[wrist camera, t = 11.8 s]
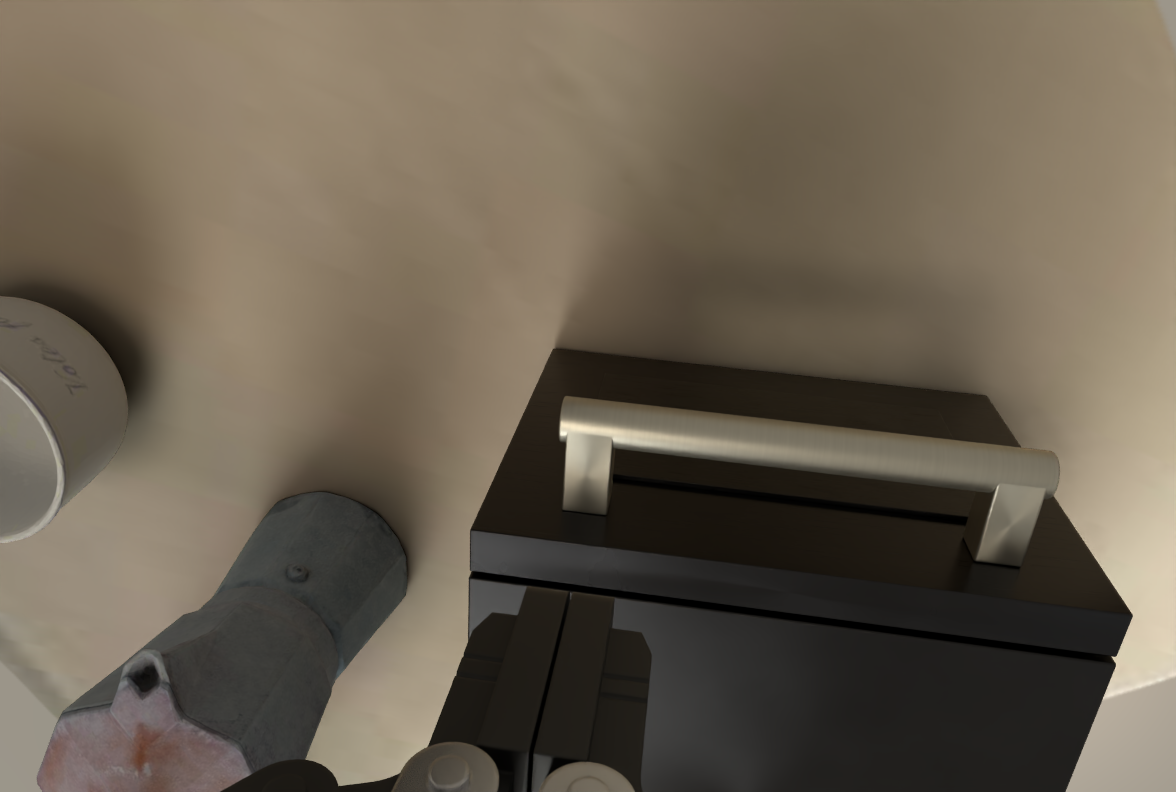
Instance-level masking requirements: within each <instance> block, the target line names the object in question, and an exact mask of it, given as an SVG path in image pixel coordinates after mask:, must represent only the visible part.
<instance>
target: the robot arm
mask: <svg viewBox="0 0 1176 792" xmlns="http://www.w3.org/2000/svg"><path fill="white" fill-rule="evenodd" d="M614 603H615V597H608V596H600V595H593V594H585V593H578V592H573V593H572V596H571V599H570V592H569V591H561V590H554V589H547V588H539V587H532V586H528V587H527V588H526V591H525V594H524V597H523V600H522V603H521V606H520V609H519V612H518V615H511V614H504V613H496V612H492V613H491V614H490V615H489V616H488V617H487V618H485V619H484V620H483V621H482V622H481V623H480V624H479V625H478V626H477V627H476V628H475V629H474V630H473V631H472V633H471V636H470V639H469V641H468V644H467V646H466V649H465V652H464V657H462V659H461V662H460V665H459V667H458V670H457V675H456V676H455V678H454V680H453V683H452V686H451V688H450V691H449V693H448V696H447V699H446V701H445V704H444V706H443V709H442V712H441V714H440V717H439V719H438V722H437V725H436V727H435V730H434V732H433V735H432V738H431V740H430V743H429V745H428V747H427V748H424V749H423V750H421V751H419V752H418V753H416V754H415V755H414V756H413V757H411V758H410V760H409V761H408V762H407V763H406V764H405V766H404V767H403V769H402V771H401V773H399V774H397V775H395V776H393V777H390V778H387V779H384V780H380V781H375V782H368V783H361V784H353V785H345V786H338V783H337V781H336V778H335V777H334V775H333V774H332V772H330V771H329V770H328V769H327V768H326V767H324V766H323V765H321V764H319V763H316V762H314V761H309V760H301V759H293V760H285V761H280V762H277V763H274V764H271V765H268V766H266V767H264V768H262V769H260V770H258V771H256V772H255V773H253V774H251V775H249V776H247V777H245V778H244V779H242V780H240V781H238V782H236V783H235V784H233V785H231V786H229V787H227V788H226V789H224V790H222V791H220V792H643V791H642V787H641V767H642V756H643V746H644V736H645V725H646V715H647V704H648V694H649V683H650V673H651V663H652V654H651V651H650V649H649V647H648V645H647V643H646V640H645V638H644V636H643V634H642V632H636V631H629V630H621V629H614V628H612V625H613V615H614Z"/></svg>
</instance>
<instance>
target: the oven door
mask: <svg viewBox="0 0 1176 792" xmlns="http://www.w3.org/2000/svg"><path fill="white" fill-rule="evenodd" d="M1059 475H1060V467H1059V461H1058V458H1057V456H1056V454H1055V453H1054V452H1052V451H1046V450H1037V449H1029V448H1021V446H1020V445H1019V443H1018V442H1017V440H1016V439H1015V437H1014V436H1013V434H1012V433H1011V431H1010V430H1009V428H1008V427H1007V425H1006V424H1005V422H1004V421H1003V419H1002V418H1001V416H1000V415H999V413H998V412H997V410H996V409H995V407H994V406H993V404H992V403H991V401H990V400H989V398H988V397H987V396H984V395H975V394H966V393H957V392H948V391H938V390H929V389H920V388H911V387H902V386H892V385H883V384H874V383H865V382H856V381H846V380H837V379H828V378H819V377H810V376H800V375H791V374H782V373H773V372H764V371H755V370H745V369H736V368H727V367H718V366H709V365H699V364H690V363H681V362H672V361H663V360H653V359H644V358H635V357H626V356H617V355H607V354H598V353H589V352H580V351H571V350H561V349H553V350H552V352H551V354H550V356H549V359H548V361H547V363H546V365H545V367H544V370H543V372H542V374H541V376H540V378H539V380H538V383H537V385H536V387H535V389H534V391H533V394H532V396H531V398H530V400H529V402H528V405H527V407H526V409H525V411H524V413H523V416H522V418H521V420H520V422H519V424H518V427H517V429H516V431H515V433H514V435H513V438H512V440H511V442H510V444H509V446H508V449H507V451H506V453H505V455H504V457H503V460H502V462H501V464H500V466H499V468H498V471H497V473H496V475H495V477H494V479H493V482H492V484H491V486H490V488H489V490H488V492H487V495H486V497H485V499H484V501H483V503H482V506H481V508H480V510H479V512H478V514H477V517H476V519H475V521H474V523H473V525H472V528H471V530H470V571H476V572H483V573H491V574H498V575H506V576H513V577H521V578H528V579H536V580H543V581H551V582H558V583H566V584H573V585H581V586H588V587H596V588H603V589H611V590H618V591H626V592H633V593H641V594H648V595H656V596H663V597H671V598H678V599H686V600H693V601H701V602H708V603H716V604H723V605H731V606H738V607H746V608H753V609H761V610H768V611H776V612H783V613H791V614H798V615H806V616H813V617H821V618H828V619H836V620H843V621H851V622H858V623H866V624H873V625H881V626H888V627H896V628H903V629H911V630H918V631H926V632H933V633H941V634H948V635H956V636H963V637H971V638H978V639H986V640H993V641H1001V642H1008V643H1016V644H1023V645H1031V646H1038V647H1046V648H1053V649H1061V650H1068V651H1076V652H1083V653H1091V654H1098V655H1106V656H1113V657H1116V656H1117V654H1118V651H1119V649H1120V646H1121V644H1122V641H1123V639H1124V637H1125V634H1126V632H1127V629H1128V627H1129V624H1130V622H1131V619H1132V617H1133V615H1132V613H1131V612H1130V610H1129V609H1128V607H1127V606H1126V604H1125V603H1124V601H1123V600H1122V598H1121V597H1120V595H1119V594H1118V592H1117V591H1116V589H1115V588H1114V586H1113V585H1112V583H1111V582H1110V580H1109V579H1108V577H1107V576H1106V574H1105V573H1104V571H1103V570H1102V568H1101V567H1100V565H1099V564H1098V562H1097V561H1096V559H1095V558H1094V556H1093V555H1092V553H1091V552H1090V550H1089V549H1088V547H1087V546H1086V544H1085V543H1084V541H1083V540H1082V538H1081V537H1080V535H1079V534H1078V532H1077V531H1076V529H1075V528H1074V526H1073V525H1072V523H1071V522H1070V520H1069V519H1068V517H1067V516H1066V514H1065V513H1064V511H1063V509H1062V508H1061V506H1060V505H1059V503H1058V502H1057V500H1056V499H1055V497H1054V496H1053V495H1054V493H1055V491H1056V489H1057V486H1058V482H1059Z"/></svg>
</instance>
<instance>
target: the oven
mask: <svg viewBox="0 0 1176 792" xmlns="http://www.w3.org/2000/svg"><path fill="white" fill-rule="evenodd" d="M528 586H532V587H539V588H547V589H554V590H561V591H569V592H570V599H571V596H572V593H573V592H578V593H585V594H593V595H600V596H608V597H615V603H614V615H613V625H612V628H614V629H621V630H629V631H636V632H642V634H643V636H644V638H645V640H646V643H647V645H648V647H649V649H650V651H651V654H652V663H651V673H650V683H649V694H648V704H647V715H646V725H645V736H644V746H643V756H642V767H641V787H642V791H643V792H1066V789H1067V786H1068V784H1069V782H1070V779H1071V777H1072V774H1073V771H1074V769H1075V766H1076V764H1077V762H1078V759H1079V757H1080V754H1081V751H1082V749H1083V747H1084V744H1085V742H1086V739H1087V737H1088V734H1089V732H1090V729H1091V727H1092V724H1093V722H1094V719H1095V717H1096V714H1097V711H1098V709H1099V707H1100V704H1101V702H1102V699H1103V697H1104V694H1105V692H1106V689H1107V687H1108V684H1109V682H1110V679H1111V677H1112V674H1113V672H1114V669H1115V667H1116V663H1115V662H1114V660H1113V658H1112V657H1111V656H1106V655H1098V654H1091V653H1083V652H1076V651H1068V650H1061V649H1053V648H1046V647H1038V646H1031V645H1023V644H1016V643H1008V642H1001V641H993V640H986V639H978V638H971V637H963V636H956V635H948V634H941V633H933V632H926V631H918V630H911V629H903V628H896V627H888V626H881V625H873V624H866V623H858V622H851V621H843V620H836V619H828V618H821V617H813V616H806V615H798V614H791V613H783V612H776V611H768V610H761V609H753V608H746V607H738V606H731V605H723V604H716V603H708V602H701V601H693V600H686V599H678V598H671V597H663V596H656V595H648V594H641V593H633V592H626V591H618V590H611V589H603V588H596V587H588V586H581V585H573V584H566V583H558V582H551V581H543V580H536V579H528V578H521V577H513V576H506V575H498V574H491V573H483V572H476V571H472V572H471V574H470V577H469V615H468V641H469V639H470V636H471V633H472V631H473V630H474V629H475V628H476V627H477V626H478V625H479V624H480V623H481V622H482V621H483V620H484V619H485V618H487V617H488V616H489V615H490V614H491V613H492V612H496V613H504V614H511V615H518V612H519V609H520V606H521V603H522V600H523V597H524V594H525V591H526V588H527V587H528Z"/></svg>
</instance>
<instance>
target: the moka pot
mask: <svg viewBox="0 0 1176 792" xmlns="http://www.w3.org/2000/svg"><path fill="white" fill-rule="evenodd" d="M406 589H407V568H406V556H405V554H404V551H403V549H402V547H401V545H400V542H399V540H398V538H397V537H396V536H395V534H394V533H393V532H392V530H391V529H390V527H389V526H388V525H387V524H386V523H385V522H384V520H383V519H382V518H381V517H380V516H379V515H378V514H376V513H375V512H373V511H372V510H370V509H369V508H367V507H365V506H364V505H362V504H360V503H358V502H356V501H353V500H351V499H349V498H346V497H343V496H338V495H334V494H331V493H325V492H314V493H306V494H301V495H297V496H294V497H290V498H287V499H284V500H282V501H279V502H277V503H276V504H275V505H274V506H273V507H272V509H271V510H270V511H269V512H268V514H267V515H266V516H265V517H264V519H263V520H262V521H261V523H260V524H259V526H258V527H257V528H256V529H255V531H254V532H253V534H252V535H251V537H250V538H249V540H248V542H247V543H246V545H245V546H244V548H243V550H242V551H241V553H240V554H239V556H238V558H237V559H236V561H235V562H234V564H233V566H232V567H231V569H230V571H229V572H228V574H227V575H226V577H225V578H224V580H223V582H222V583H221V585H220V587H219V588H218V590H217V591H216V593H215V595H214V596H213V598H212V599H210V600H209V601H208V602H207V603H206V604H205V605H204V606H203V607H202V608H201V609H199V610H198V611H195V612H192V613H188V614H184V615H183V616H181V617H180V618H179V619H178V620H176V621H175V622H174V623H173V624H171V625H170V626H169V627H167V628H166V629H165V630H164V631H162V632H161V633H160V634H159V635H157V636H156V637H155V638H154V639H152V640H151V641H150V642H149V643H148V644H146V645H145V646H144V647H143V648H142V649H140V650H139V651H138V652H137V653H135V654H134V655H133V656H132V657H131V658H129V659H128V660H127V661H126V662H125V663H124V664H122V665H121V666H120V667H119V668H117V669H116V670H115V671H113V672H112V673H111V674H109V675H108V676H107V677H106V678H104V679H103V680H102V681H101V682H99V683H98V684H97V685H95V686H94V687H93V688H91V689H90V690H89V691H87V692H86V693H85V694H84V695H82V696H81V697H80V698H79V699H77V700H76V701H75V702H74V703H72V704H71V705H70V706H69V707H67V708H66V709H65V710H64V711H63V712H62V714H61V716H60V718H59V720H58V722H57V724H56V726H55V729H54V731H53V734H52V737H51V740H50V742H49V745H48V748H47V751H46V754H45V756H44V759H43V762H42V764H41V767H40V770H39V772H38V775H37V783H38V785H39V787H40V789H41V790H42V792H220V791H222V790H224V789H226V788H227V787H229V786H231V785H233V784H235V783H236V782H238V781H240V780H242V779H244V778H245V777H247V776H249V775H251V774H253V773H255V772H256V771H258V770H260V769H262V768H264V767H266V766H268V765H271V764H274V763H277V762H280V761H285V760H293V759H301V760H305V758H306V756H307V753H308V751H309V748H310V746H311V743H312V741H313V738H314V736H315V733H316V730H317V728H318V725H319V723H320V720H321V718H322V715H323V713H324V710H325V708H326V705H327V703H328V700H329V698H330V695H331V692H332V686H333V684H334V683H335V680H336V679H337V678H338V677H339V675H340V674H341V673H342V672H343V671H344V670H345V669H346V667H347V666H348V665H349V663H350V662H351V661H352V659H353V658H354V657H355V656H356V655H357V653H358V652H359V651H360V650H361V649H362V647H363V646H364V645H365V644H366V643H367V641H368V640H369V639H370V638H371V637H372V635H373V634H374V633H375V632H376V630H377V629H378V628H379V627H380V626H381V625H382V623H383V622H384V621H385V620H386V619H387V618H388V616H389V615H390V614H391V613H392V612H393V610H394V609H395V608H396V607H397V606H398V604H399V603H400V602H401V601H402V599H403V598H404V597H405V595H406Z"/></svg>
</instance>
